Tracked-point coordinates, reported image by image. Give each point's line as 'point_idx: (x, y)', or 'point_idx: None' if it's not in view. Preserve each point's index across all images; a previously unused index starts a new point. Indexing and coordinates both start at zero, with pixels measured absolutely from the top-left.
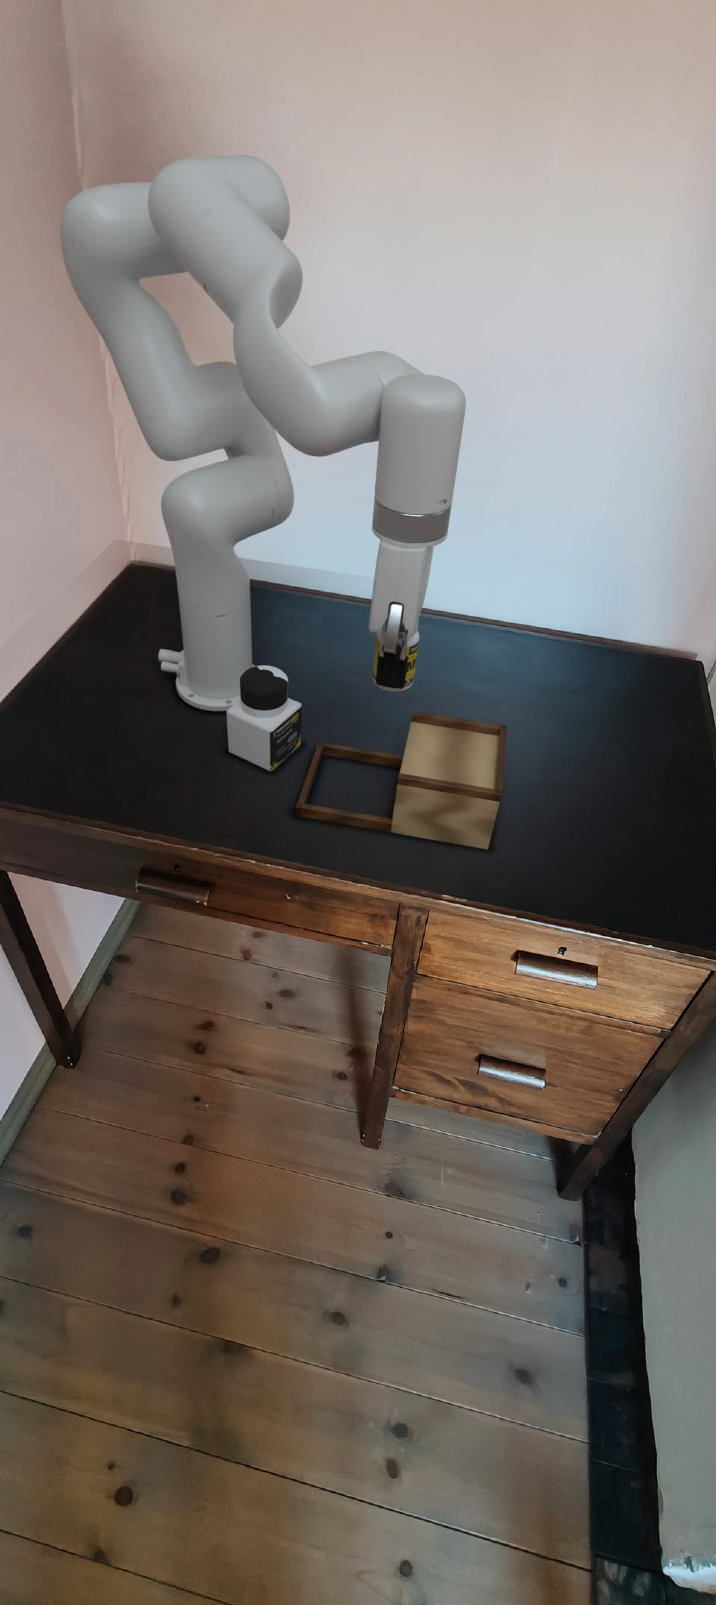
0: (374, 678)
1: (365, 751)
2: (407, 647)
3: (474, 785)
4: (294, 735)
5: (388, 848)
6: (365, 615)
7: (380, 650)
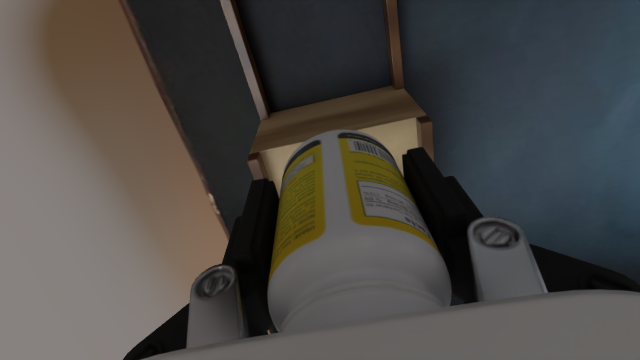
0: (297, 152)
1: (392, 21)
2: None
3: None
4: None
5: (236, 122)
6: None
7: (192, 301)
